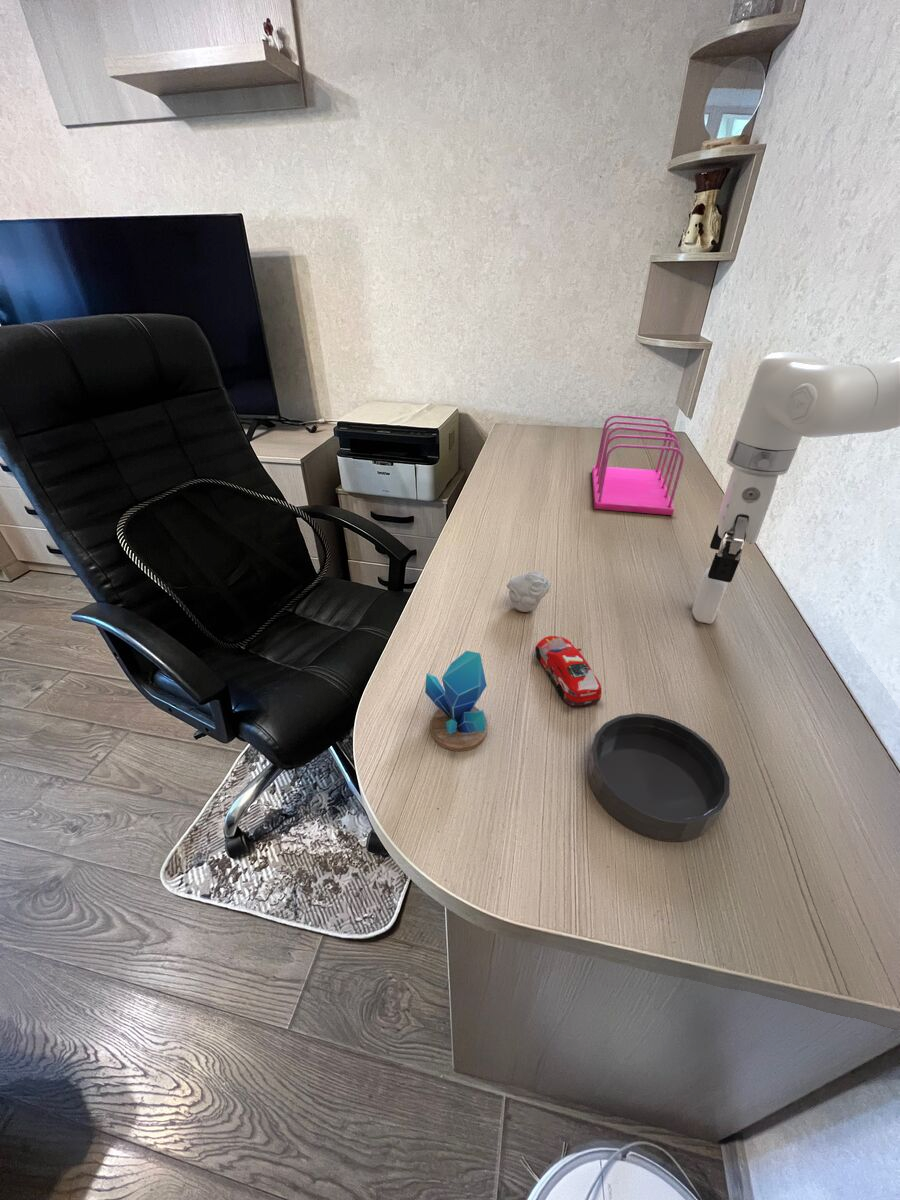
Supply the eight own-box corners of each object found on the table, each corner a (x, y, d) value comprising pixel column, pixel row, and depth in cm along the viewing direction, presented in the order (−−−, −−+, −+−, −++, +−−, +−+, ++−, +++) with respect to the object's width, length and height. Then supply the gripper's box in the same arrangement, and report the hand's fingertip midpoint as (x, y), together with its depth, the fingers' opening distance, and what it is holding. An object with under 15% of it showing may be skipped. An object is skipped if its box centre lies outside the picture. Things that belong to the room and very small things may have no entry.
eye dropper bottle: (723, 613, 83) (748, 549, 76) (708, 627, 80) (732, 562, 73) (697, 602, 85) (719, 539, 79) (682, 615, 82) (703, 551, 75)
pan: (720, 757, 59) (729, 737, 57) (718, 865, 49) (729, 845, 47) (600, 718, 64) (605, 699, 62) (575, 809, 53) (580, 789, 51)
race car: (530, 648, 75) (532, 627, 73) (563, 643, 76) (567, 622, 74) (566, 713, 65) (570, 690, 62) (604, 706, 66) (610, 684, 63)
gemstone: (479, 699, 67) (483, 628, 60) (493, 752, 59) (499, 678, 53) (424, 704, 66) (422, 633, 59) (432, 759, 59) (430, 684, 52)
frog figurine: (545, 622, 80) (550, 586, 76) (502, 616, 82) (505, 580, 78) (548, 601, 85) (553, 566, 81) (507, 596, 87) (510, 561, 83)
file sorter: (658, 477, 133) (673, 416, 125) (672, 516, 113) (692, 447, 104) (591, 472, 136) (602, 412, 127) (593, 509, 116) (606, 442, 107)
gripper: (798, 482, 60) (747, 599, 70) (786, 440, 73) (745, 544, 82) (729, 472, 62) (690, 586, 72) (730, 433, 75) (696, 535, 85)
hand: (719, 563), depth 77 cm, fingers open, 9 cm apart
